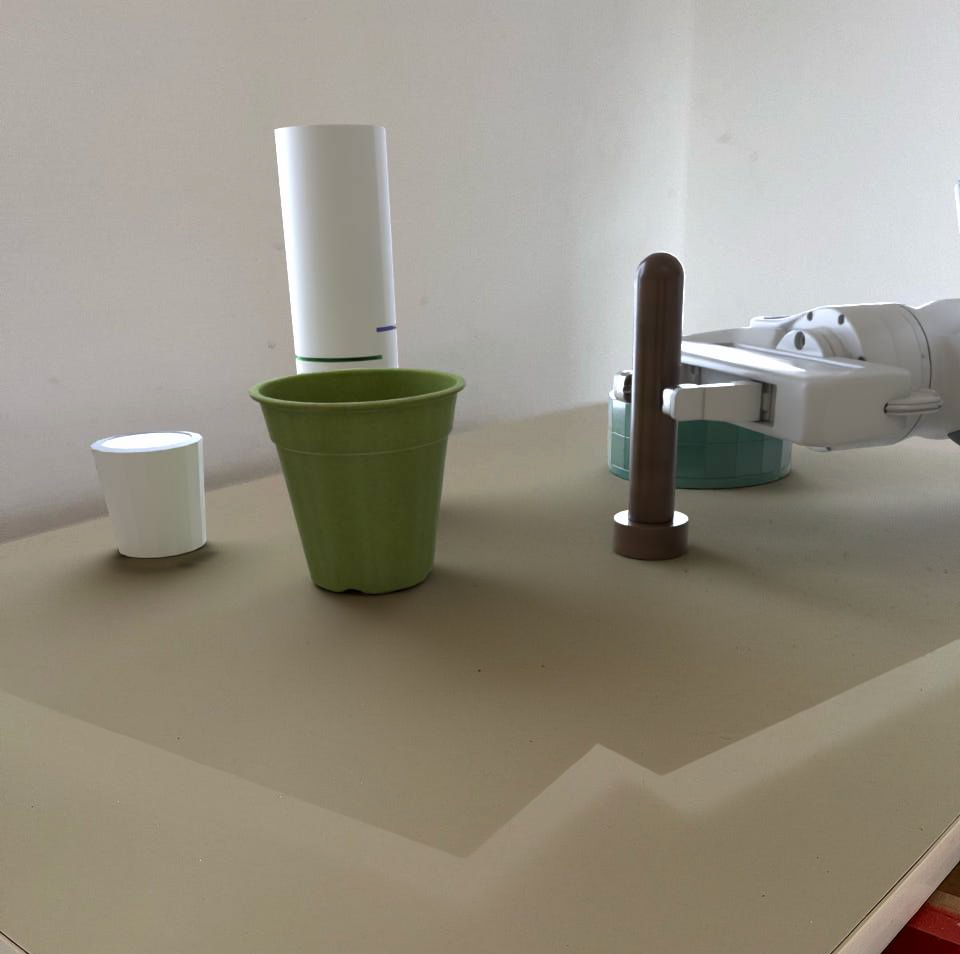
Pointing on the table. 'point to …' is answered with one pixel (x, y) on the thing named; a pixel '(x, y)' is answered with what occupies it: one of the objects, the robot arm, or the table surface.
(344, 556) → the plant pot
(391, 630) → the table surface
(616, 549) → the pestle
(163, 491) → the white short cylinder
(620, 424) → the bowl
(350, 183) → the cylindrical container
